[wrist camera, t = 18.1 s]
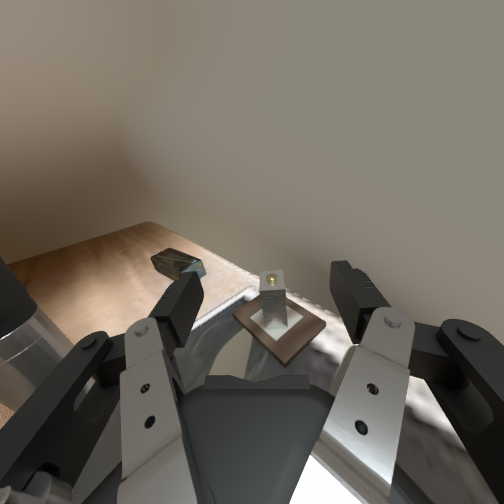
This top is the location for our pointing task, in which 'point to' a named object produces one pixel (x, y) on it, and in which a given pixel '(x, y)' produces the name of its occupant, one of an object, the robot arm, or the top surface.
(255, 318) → the mount plate
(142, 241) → the top surface
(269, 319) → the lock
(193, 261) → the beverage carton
